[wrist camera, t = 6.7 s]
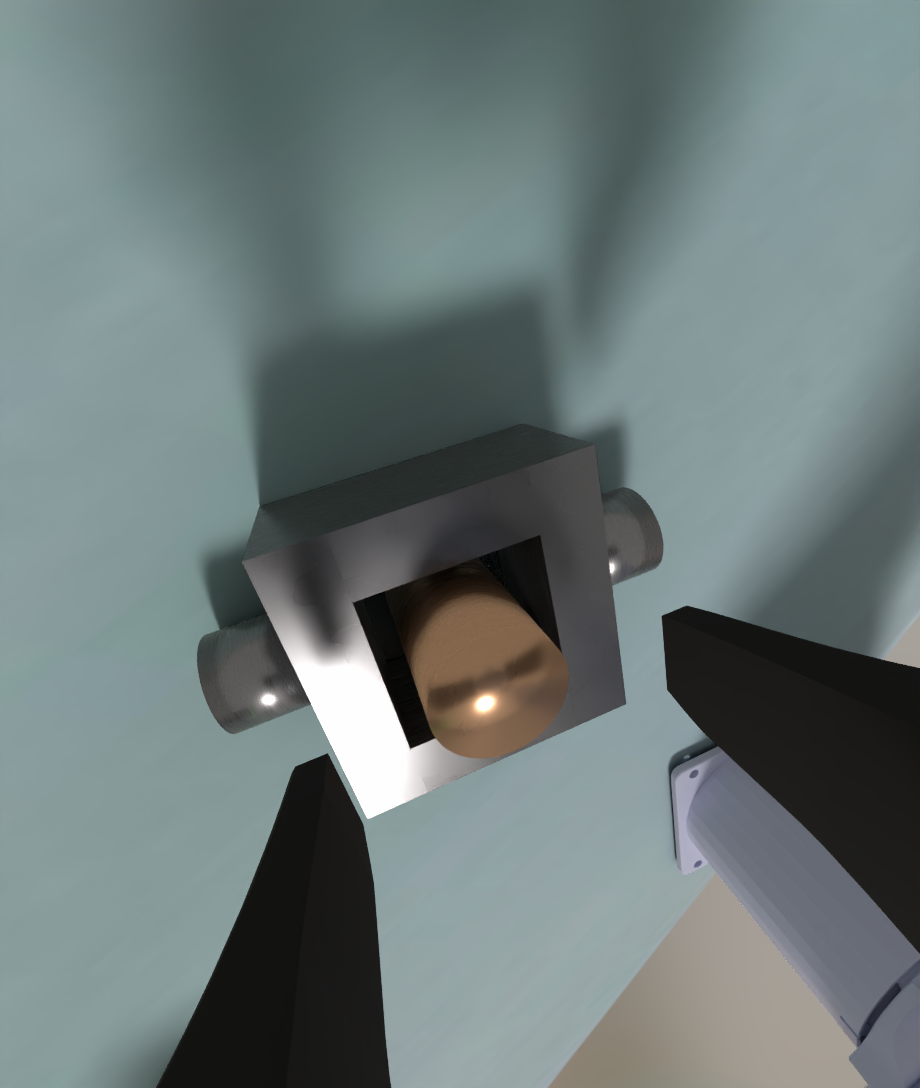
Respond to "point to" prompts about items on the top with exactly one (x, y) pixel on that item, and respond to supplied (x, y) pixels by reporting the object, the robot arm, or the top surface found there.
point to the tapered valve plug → (477, 661)
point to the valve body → (409, 554)
